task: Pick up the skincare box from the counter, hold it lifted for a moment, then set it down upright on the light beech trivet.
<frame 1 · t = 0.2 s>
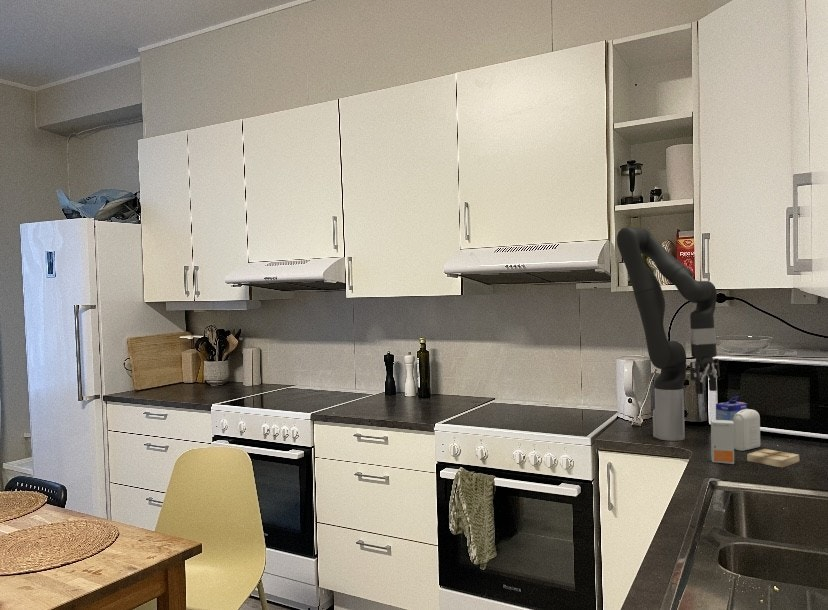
hand: (706, 392, 213), 17 cm above the counter, tool pointing down, fingers open, 8 cm apart
ink cartridge box: (731, 439, 222), on the counter
white rounded block: (747, 448, 208), on the counter
skincare box: (723, 462, 193), on the counter
trivet: (773, 461, 192), on the counter
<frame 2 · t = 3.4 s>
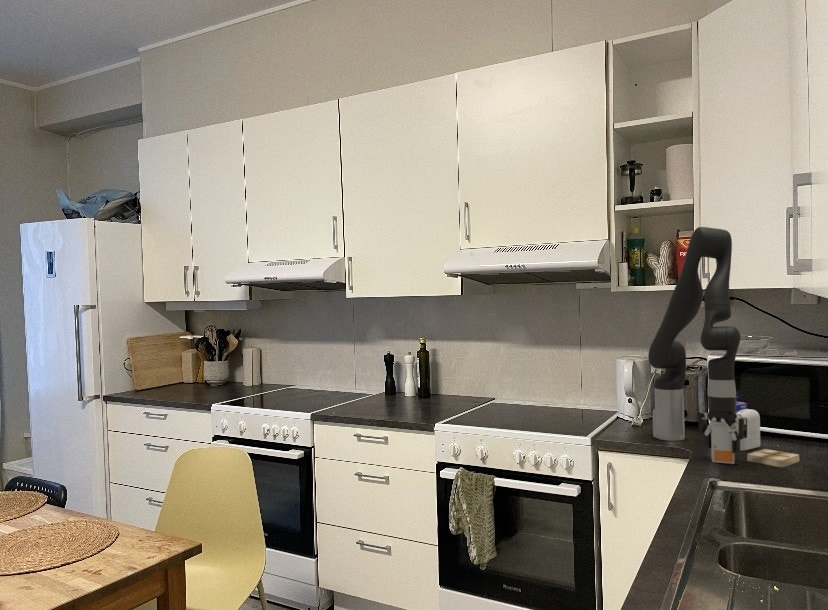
hand: (722, 450, 193), 3 cm above the counter, tool pointing down, fingers closed on skincare box, 7 cm apart
skincare box: (723, 462, 193), on the counter, touching gripper
everything else where it was.
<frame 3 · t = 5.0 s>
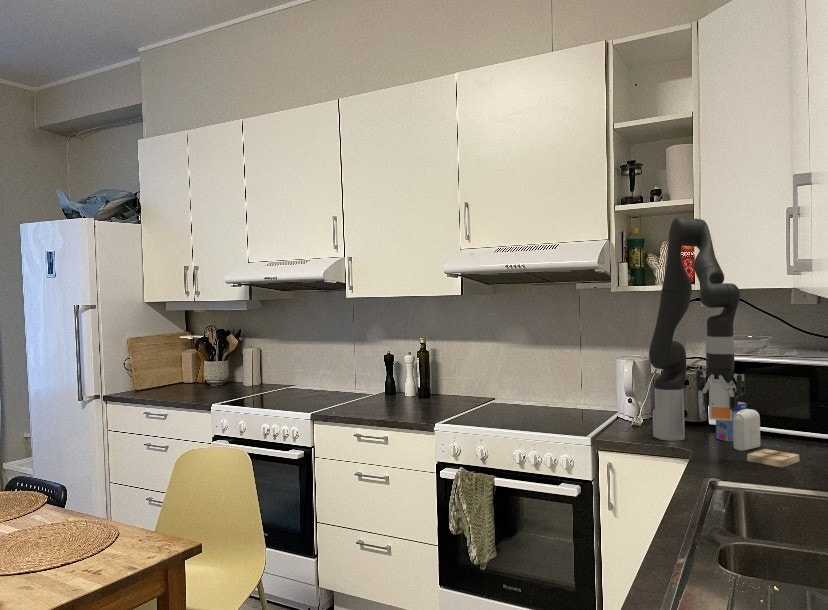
hand: (720, 407, 193), 16 cm above the counter, tool pointing down, fingers closed on skincare box, 7 cm apart
skincare box: (720, 419, 193), point 12 cm above the counter, touching gripper
everything else where it was.
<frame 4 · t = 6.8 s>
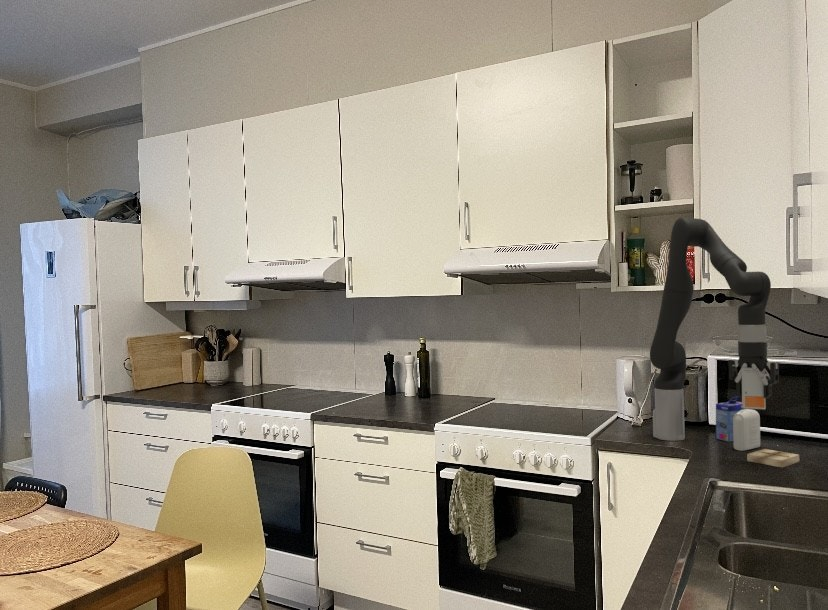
hand: (753, 396, 191), 19 cm above the counter, tool pointing down, fingers closed on skincare box, 7 cm apart
skincare box: (754, 408, 191), point 16 cm above the counter, touching gripper
everything else where it was.
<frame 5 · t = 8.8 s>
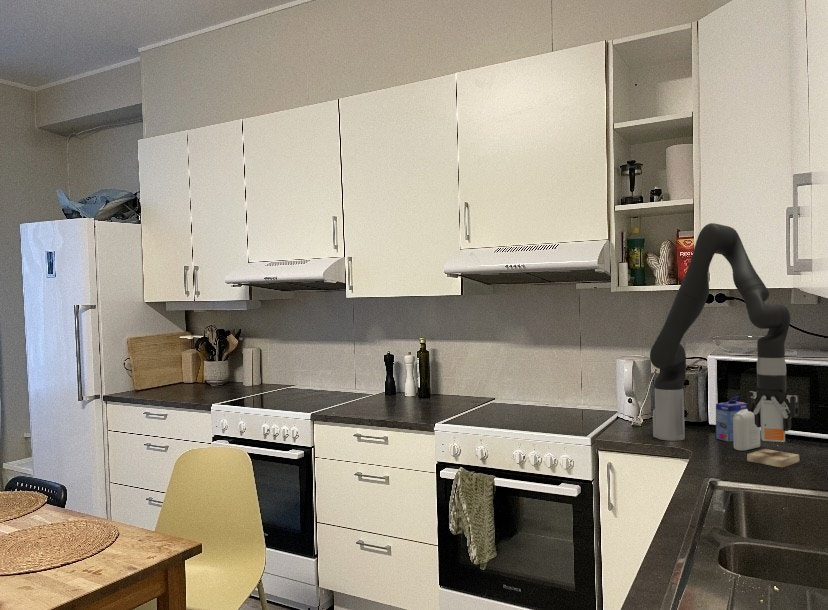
hand: (772, 428, 192), 9 cm above the counter, tool pointing down, fingers closed on skincare box, 7 cm apart
skincare box: (773, 441, 192), point 6 cm above the counter, touching gripper
everything else where it was.
when the fingers open (6 cm above the counter, at t = 10.5 s): skincare box stays where it is, resting on trivet.
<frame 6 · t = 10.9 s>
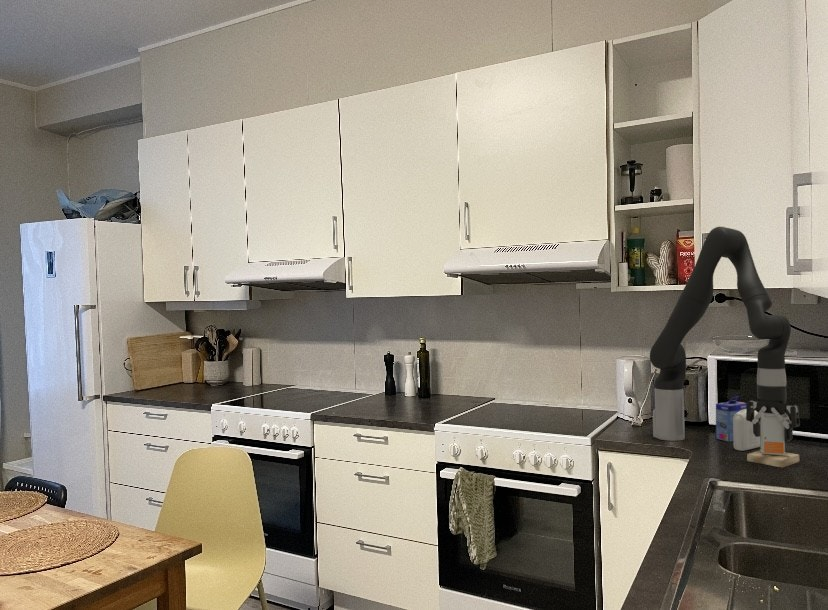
hand: (772, 438, 192), 7 cm above the counter, tool pointing down, fingers open, 8 cm apart
skincare box: (772, 454, 192), point 2 cm above the counter, touching trivet
everything else where it was.
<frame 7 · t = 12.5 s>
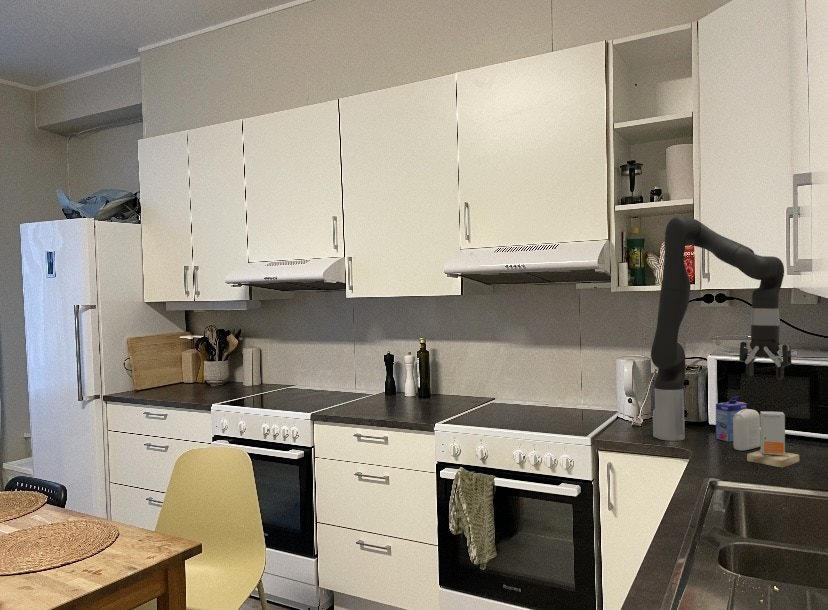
hand: (764, 377, 196), 24 cm above the counter, tool pointing down, fingers open, 8 cm apart
nothing on the counter moved.
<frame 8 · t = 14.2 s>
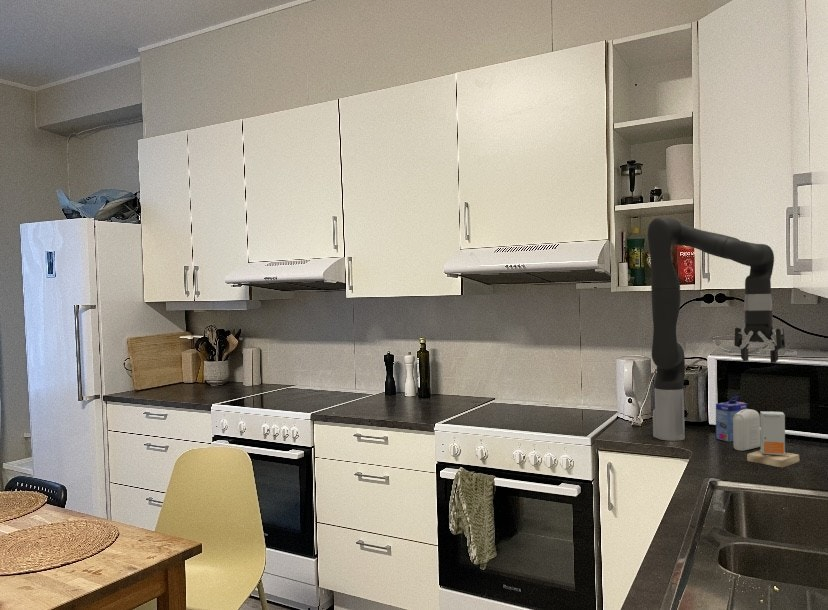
hand: (759, 361, 201), 28 cm above the counter, tool pointing down, fingers open, 8 cm apart
nothing on the counter moved.
at the end: skincare box inside the target area on the trivet (0.0 cm from its centre), point 2.1 cm above the trivet's base; skincare box tilted 0°; the gripper is holding nothing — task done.
